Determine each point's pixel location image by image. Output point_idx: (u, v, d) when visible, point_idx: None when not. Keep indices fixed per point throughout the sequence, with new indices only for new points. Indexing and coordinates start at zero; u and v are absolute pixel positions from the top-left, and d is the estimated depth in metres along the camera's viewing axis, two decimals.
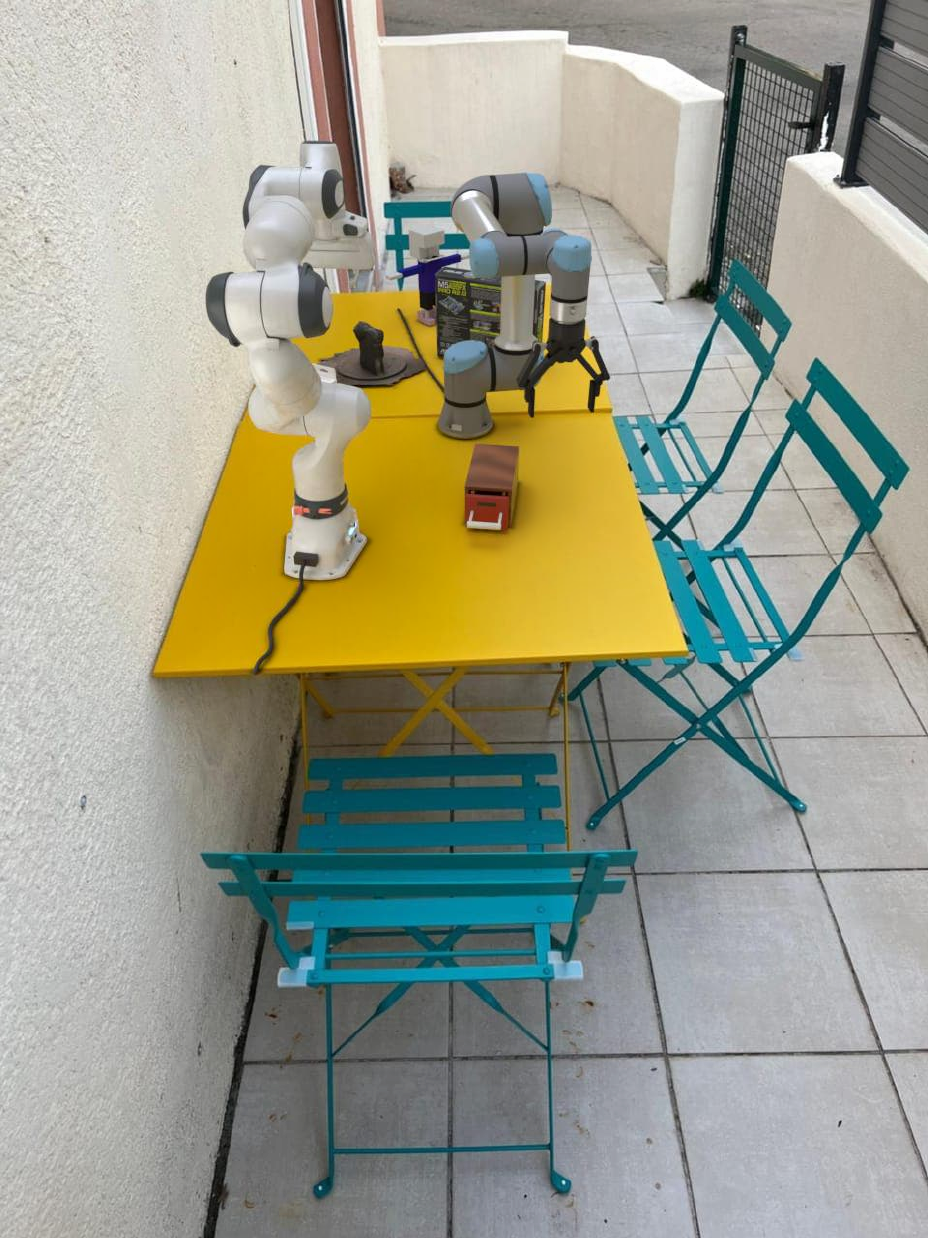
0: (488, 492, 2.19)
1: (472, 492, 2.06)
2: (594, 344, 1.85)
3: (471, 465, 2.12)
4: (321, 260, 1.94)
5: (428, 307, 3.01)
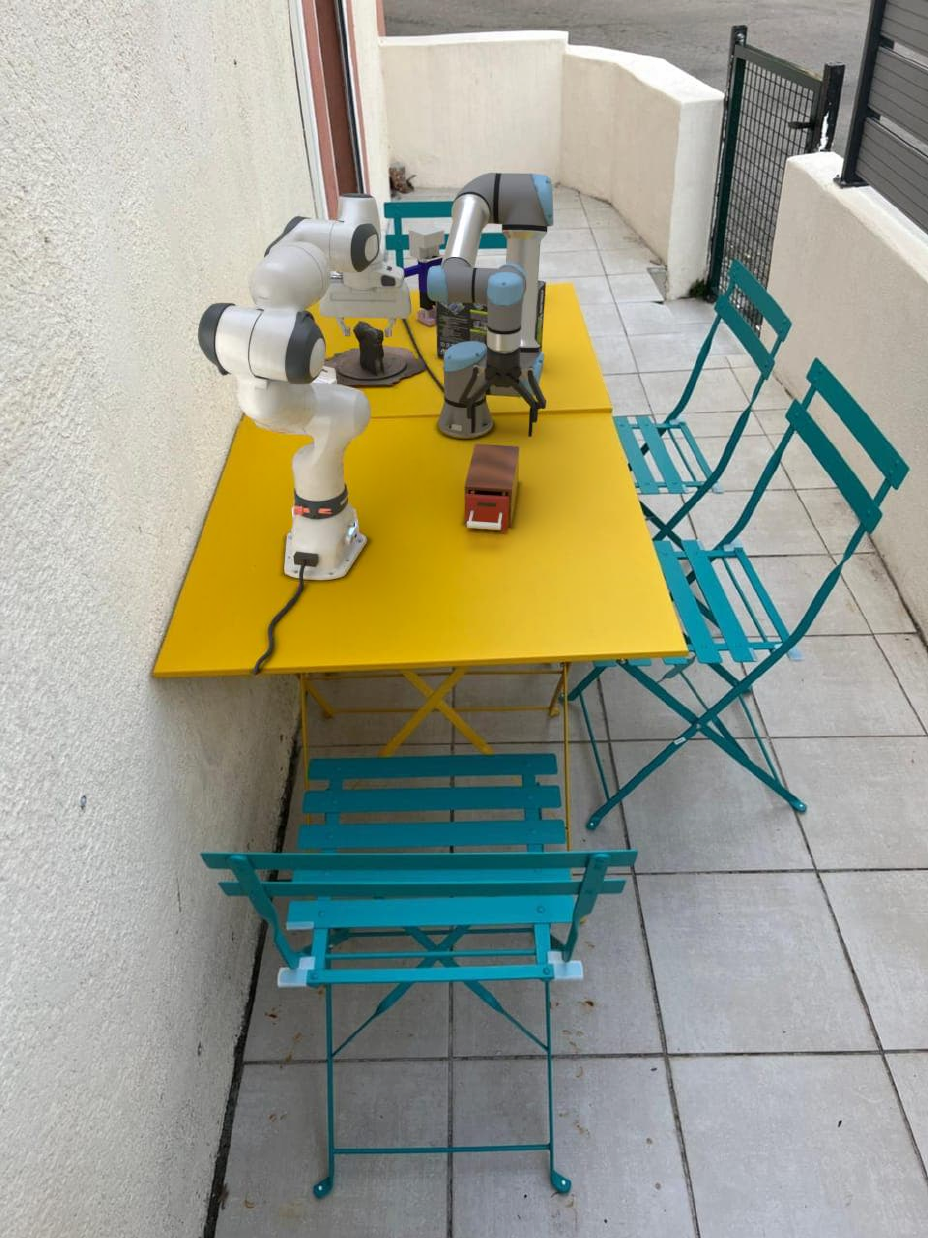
0: (488, 492, 2.19)
1: (472, 492, 2.06)
2: None
3: (471, 465, 2.12)
4: (357, 310, 1.94)
5: (428, 307, 3.01)
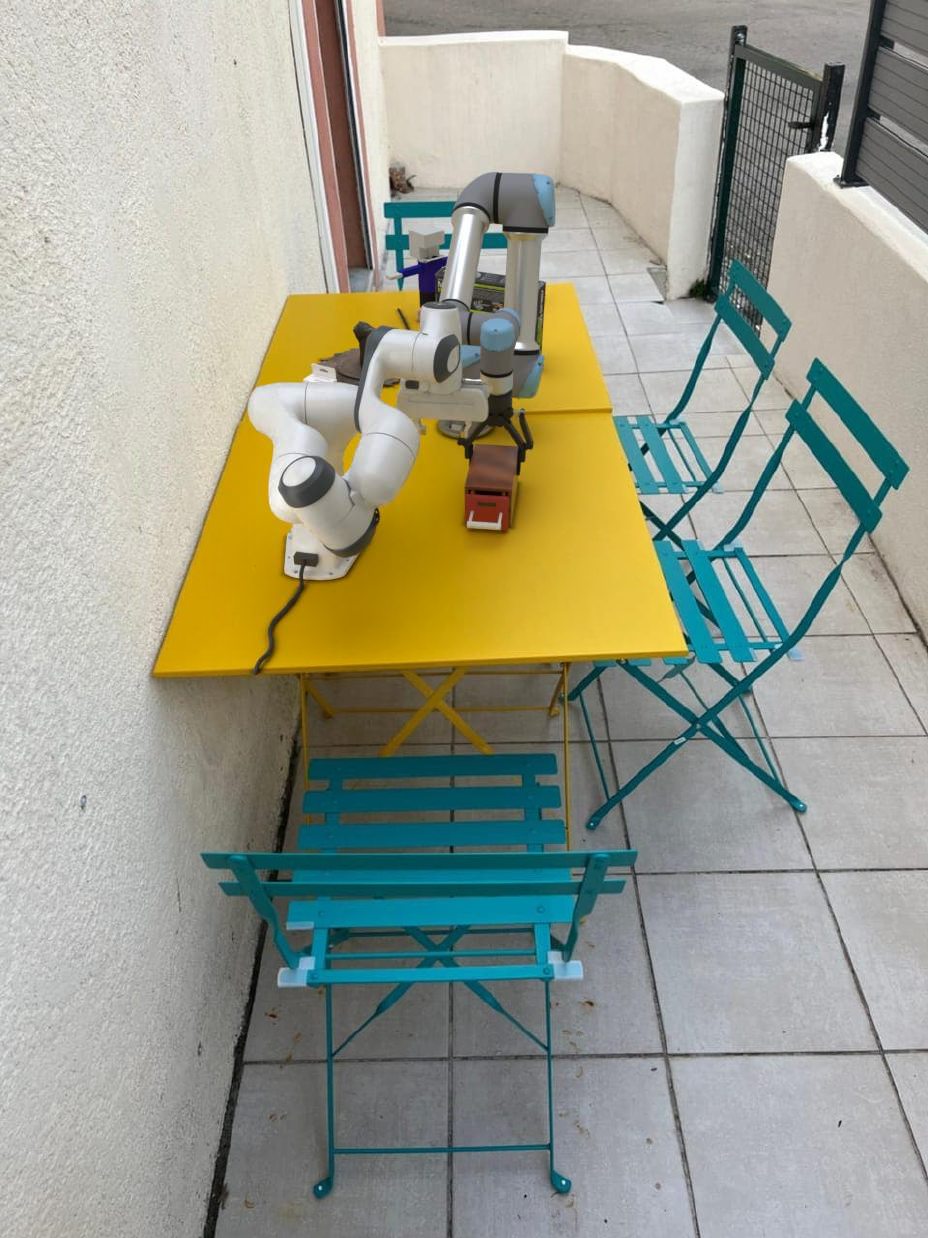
0: (488, 492, 2.19)
1: (472, 492, 2.06)
2: None
3: (471, 465, 2.12)
4: None
5: None
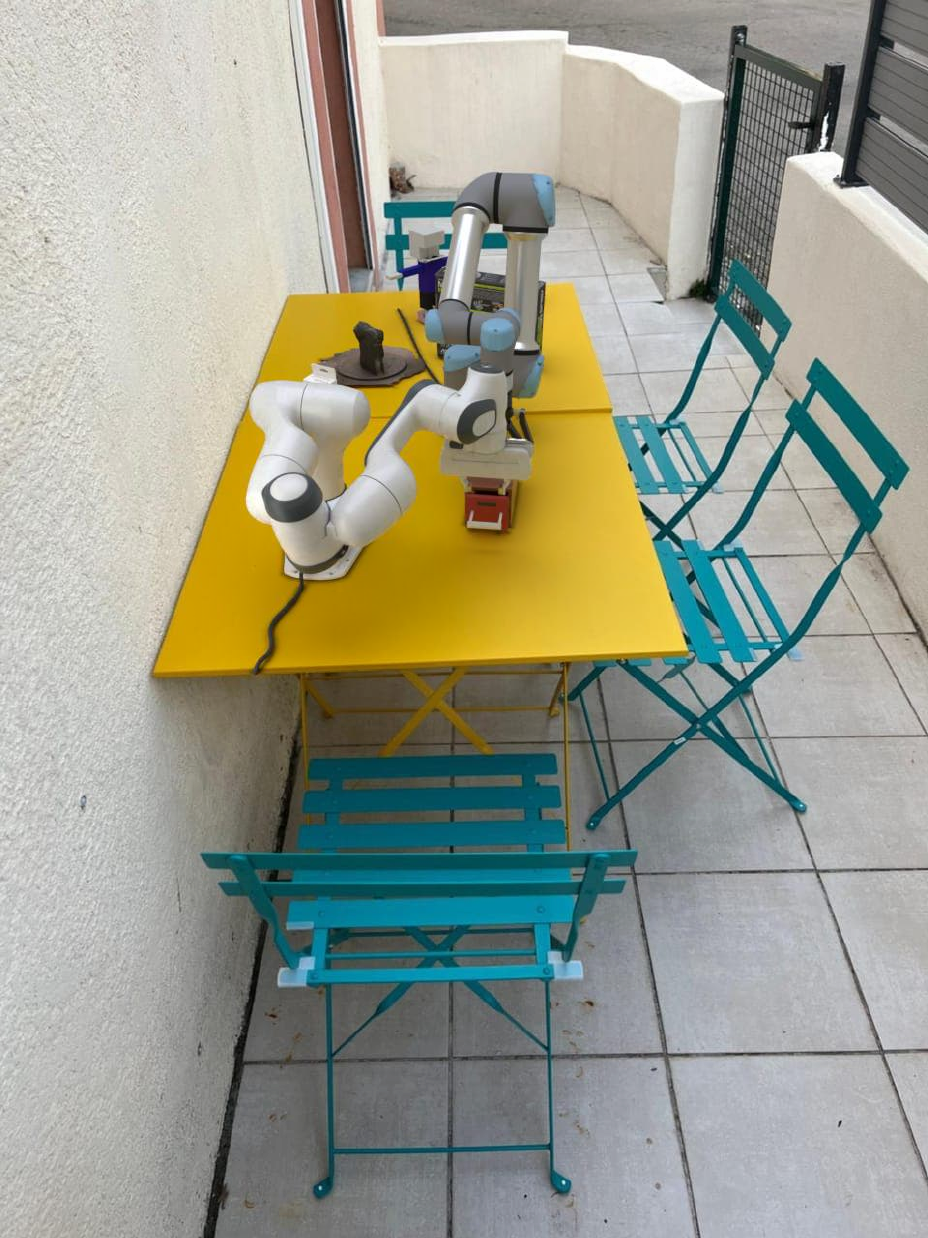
0: (488, 491, 2.19)
1: (472, 492, 2.06)
2: None
3: None
4: None
5: (428, 307, 3.01)
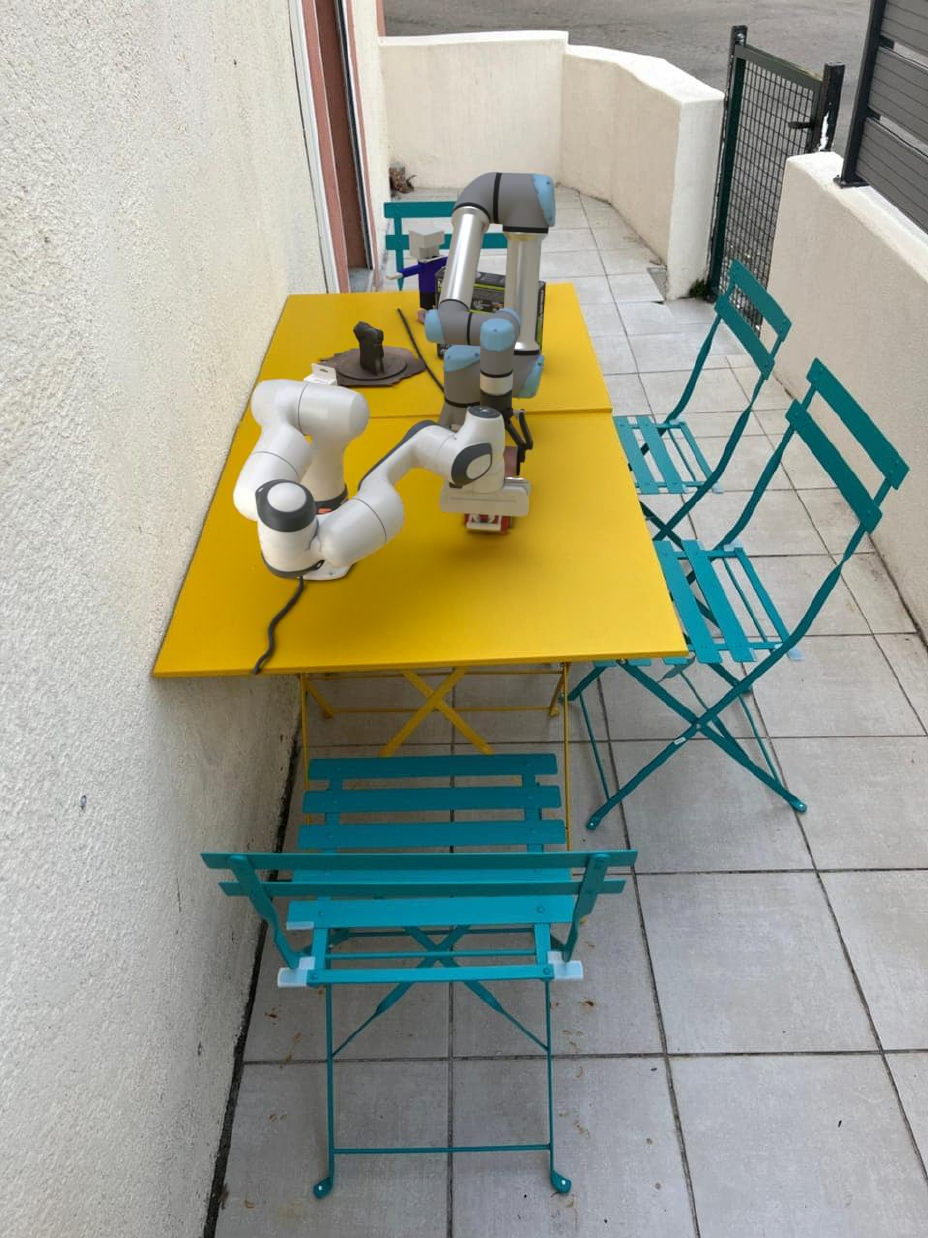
0: None
1: None
2: None
3: None
4: None
5: (428, 307, 3.01)
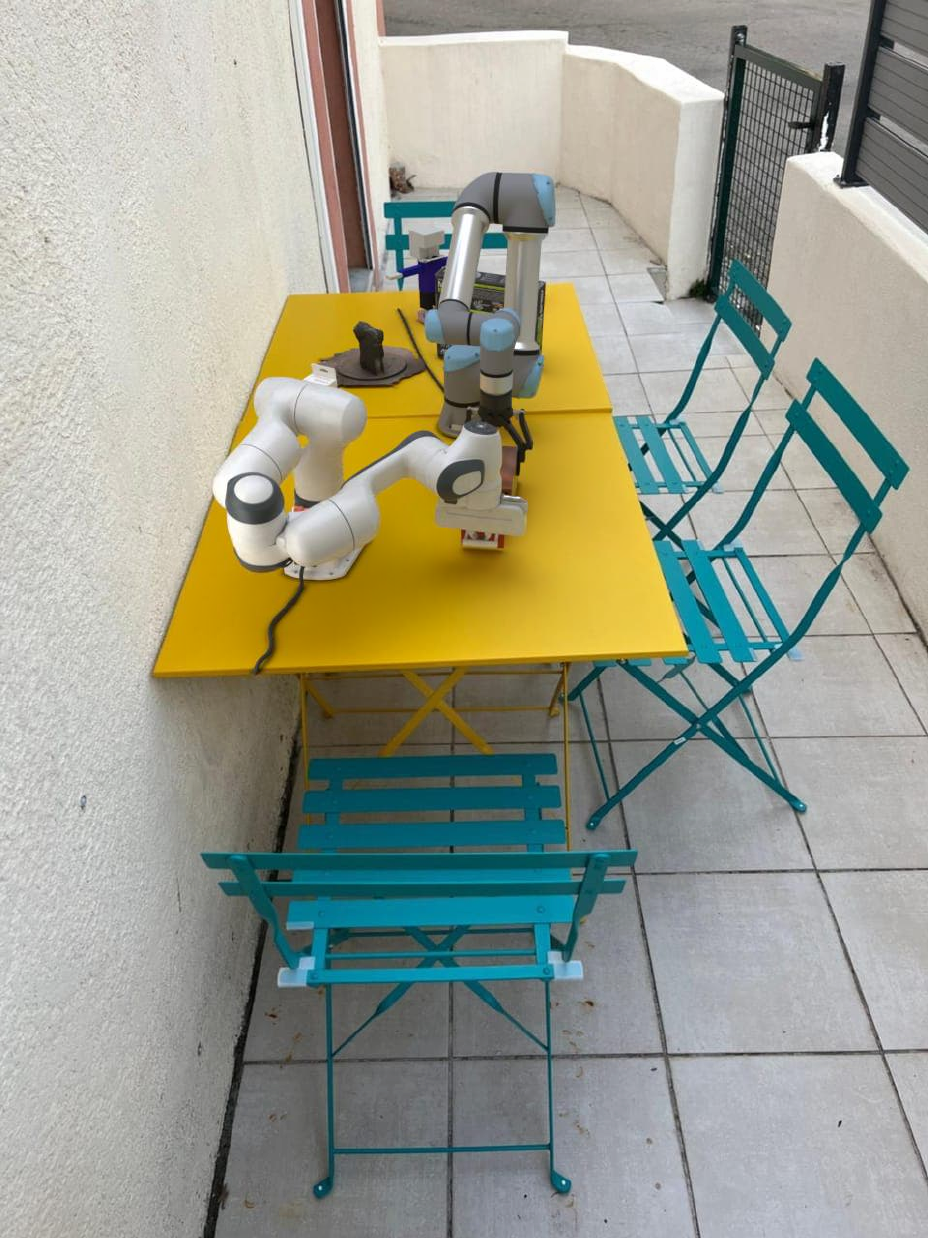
0: None
1: None
2: None
3: None
4: None
5: (428, 307, 3.01)
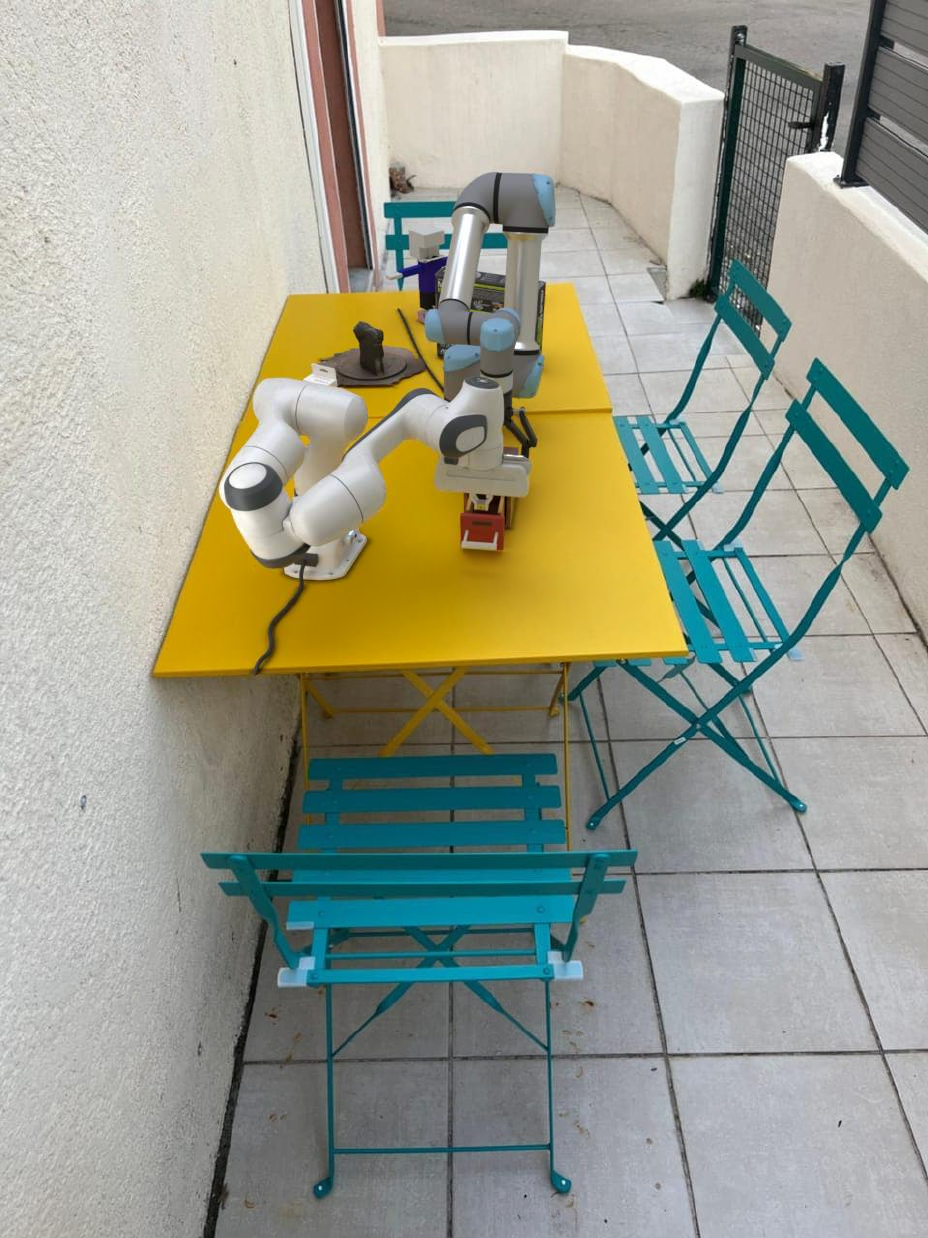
0: None
1: (467, 511, 2.00)
2: None
3: None
4: None
5: (428, 307, 3.01)
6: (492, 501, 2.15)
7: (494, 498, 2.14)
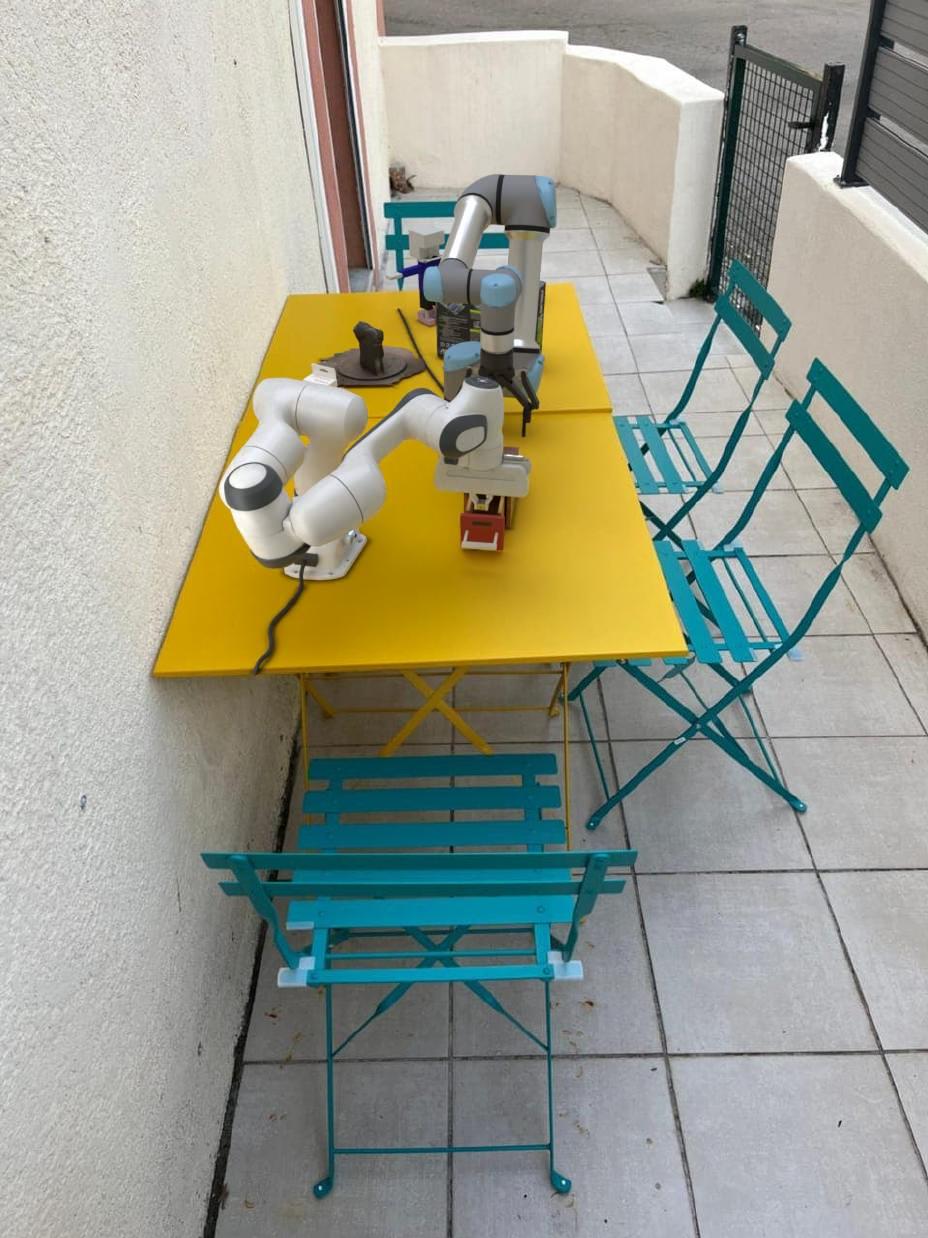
0: None
1: (467, 511, 2.00)
2: None
3: None
4: None
5: (428, 307, 3.01)
6: (492, 501, 2.15)
7: (494, 498, 2.14)
